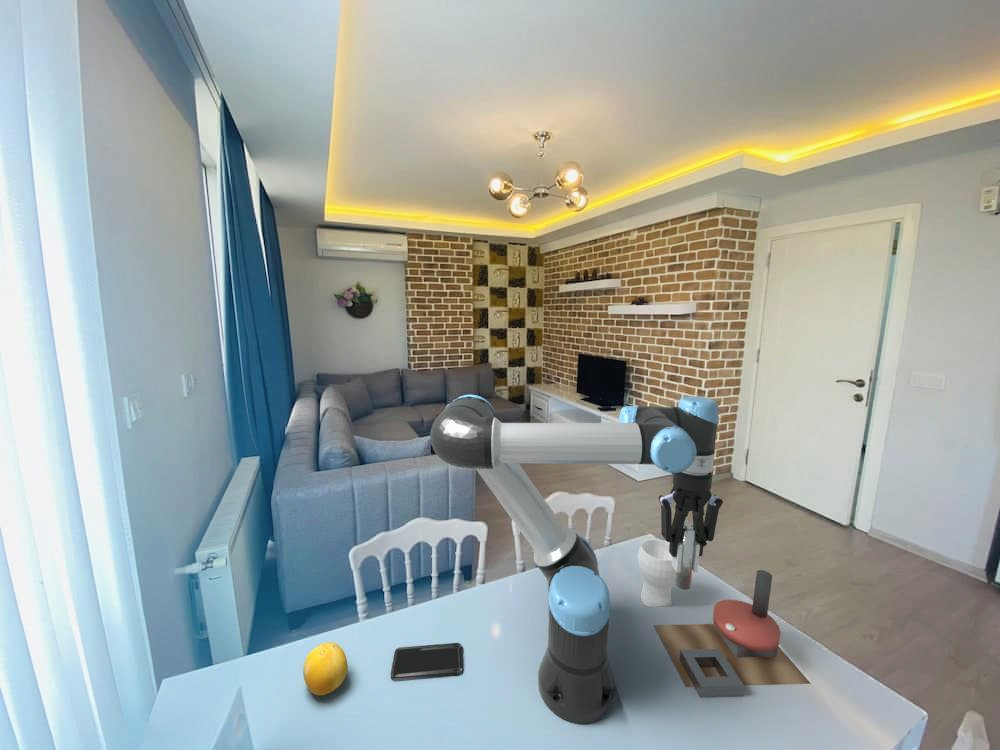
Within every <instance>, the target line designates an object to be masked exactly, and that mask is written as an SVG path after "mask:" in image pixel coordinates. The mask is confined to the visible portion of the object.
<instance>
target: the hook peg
mask: <svg viewBox="0 0 1000 750" xmlns="http://www.w3.org/2000/svg"><path fill="white" fill-rule="evenodd" d="M695 533H696V528H695V527H694V526H693V524H692V523H690V521H688V519H685V523H684V527H683V530H682V534H681V538H680V543H681V544H682V545H683V548H682V559H681V571H680V572H676V579H675V583H674V585H675V586H676V587H677V588H678V589H680V590H683V591H684V590H685V591H688V590H690V589H691V587H692V586H691V585H692V576H693V575H692V574H693V570H692V566H693V555H694V544H695Z"/></svg>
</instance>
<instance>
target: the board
mask: <svg viewBox="0 0 1000 750" xmlns="http://www.w3.org/2000/svg"><path fill="white" fill-rule="evenodd" d="M653 627H654V630H655V631H656V633H657V635H658V638H659V639H660V641H661V643H662V645H663V647H664V649H665V650H666V652H667V654H668V657H669V658H670V660H671V662H672V664H673V665H674V667H675V670H676V671H677V673H678V675H679V677H680V678H681V679H680V680H682V683H683V684H684V686H685V688H695V687H694V686H693V684H692V682H691V680H690V678H689V676H688V675H687V673H686V671H685V669H684V667H683V666H682V664H681V662H680V660H679V658H680V650H689V649H720V651H721V652H722V654H723V655H724V657H725V658H726V659H727V661H728V662H729V664H730V665H731V667H732V668H733V670H734V671H735V673H736V674H737V676H738V677H739V678H740V680H741V681H742V683H743V684H744V686H775V685H776V686H777V685H778V686H779V685H809V684H810V685H811V682H810V681H809V680H808V678H807V677H806V676H805V674H804V673H803V672H802V671H801V670H800V669H799V668H798V667H797V665H795V663H794V662H793V661H792V660H791V659H790V657H789V656H788V655H787V653H785V651H784V650H783V649H782V648H781V647H780V646H779V645H778V646H777V648H775V649H774V650H771V651H766V652H761V651H754V650H750V649H747V648H744V647H742V646H739V645H737V644H735V643H734V642H732V641H730V640H729V639H728V638H726V637H725V636H724V635H723V634H722V633H721V632H720V631H719V630H718V629H717V627H716V626H715V624H714V623H701V624H700V623H698V624H697V623H696V624H694V623H693V624H662V625H661V624H655V625H654V624H653ZM700 668H701V670H702V672H703V673H704V675H705V677H720V675H719V674H718V672H717V671H716V669H715V668H714V667H700Z"/></svg>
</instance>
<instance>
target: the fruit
mask: <svg viewBox="0 0 1000 750" xmlns="http://www.w3.org/2000/svg"><path fill="white" fill-rule="evenodd" d="M348 666H349V665H348V659H347V656H346V653H345V651H344V650H343V648H342V647H341V646H340V645H339V644H338V643H336V642H330V641H329V642H324V643H322V644H319V645H318V646H316V647H315V648H313V649H312V650H311V651H310V652H308V655H307V656H306V658H305V660H304V663H303V668H302V670H303V671H302V675H303V679H304V683H305V685H306V687H307V688H308V690H309V691H310V692H311V693H312V694H314V695H317V696H325V695H328V694H330V693H331V692H333V691H335V690H337V689H338V688H340V686H341V685H342V683H343V682H344V680H345V678H346V676H347V673H348Z"/></svg>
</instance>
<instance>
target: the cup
mask: <svg viewBox="0 0 1000 750" xmlns="http://www.w3.org/2000/svg"><path fill="white" fill-rule="evenodd" d="M669 545H670V542H667V541H666V540H662V539H658V538H657V539H656V538H650V539H649V538H648V539H645V540H644V541H642V542H641V544H640V547H639V549H638V552H637V565H638V569H639V572H640V574H641V576H642V581H643V583H642V584H643V586H642V589H641V592H640V600H641V602H642V604H644V605H645V606H646V607H647V608H665V607H667V608H668V607H669V608H670V607H672V603H673V602H672V601H673V600H672V588H673V585H675V579H676V570H675V569H674V568H673V566H672V565H671V564H672V555H671V554H670V552H669Z"/></svg>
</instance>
